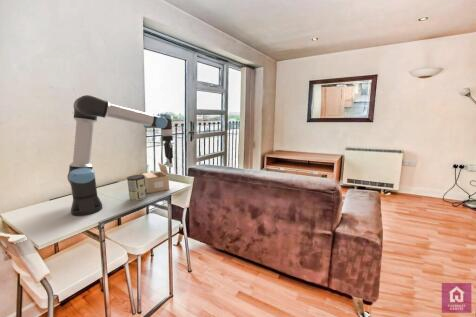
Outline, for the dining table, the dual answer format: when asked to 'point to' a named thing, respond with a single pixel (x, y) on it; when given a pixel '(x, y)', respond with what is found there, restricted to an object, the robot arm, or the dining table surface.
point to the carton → (156, 182)
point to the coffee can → (136, 187)
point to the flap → (164, 167)
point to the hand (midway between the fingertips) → (169, 166)
